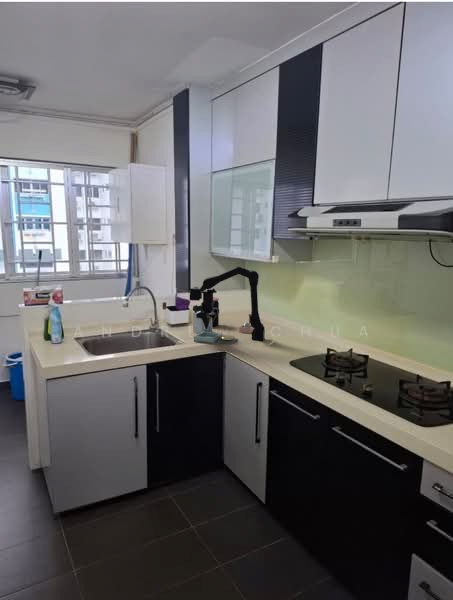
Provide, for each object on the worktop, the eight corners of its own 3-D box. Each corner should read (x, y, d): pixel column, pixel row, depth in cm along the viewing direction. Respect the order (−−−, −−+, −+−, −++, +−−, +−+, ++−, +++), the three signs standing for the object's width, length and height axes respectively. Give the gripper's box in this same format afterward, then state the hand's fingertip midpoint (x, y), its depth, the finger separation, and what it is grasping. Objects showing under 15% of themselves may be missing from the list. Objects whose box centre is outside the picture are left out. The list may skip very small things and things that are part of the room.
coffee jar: (218, 327, 256) (218, 299, 253) (201, 327, 256) (201, 299, 253) (218, 323, 267) (219, 297, 264) (202, 323, 267) (202, 297, 264)
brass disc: (236, 337, 226) (236, 335, 226) (231, 341, 218) (231, 339, 218) (223, 335, 229) (223, 334, 229) (217, 339, 222) (217, 337, 221)
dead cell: (250, 331, 245) (251, 322, 244) (248, 332, 241) (248, 323, 240) (244, 330, 246) (244, 321, 245) (242, 332, 243) (242, 323, 242)
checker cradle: (237, 340, 227) (237, 337, 226) (231, 344, 218) (231, 341, 218) (223, 338, 230) (223, 335, 230) (216, 342, 222) (216, 339, 221)
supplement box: (201, 334, 239) (201, 313, 237) (192, 332, 244) (192, 312, 242) (209, 331, 245) (209, 311, 243) (200, 330, 249) (200, 310, 247)
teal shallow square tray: (221, 338, 230) (221, 333, 229) (213, 343, 219) (213, 338, 218) (203, 336, 234) (203, 331, 234) (193, 341, 223) (193, 336, 223)
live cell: (213, 330, 227) (213, 315, 225) (210, 332, 223) (210, 317, 221) (206, 330, 228) (206, 315, 227) (203, 331, 224) (202, 316, 223)
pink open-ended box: (254, 331, 246) (254, 325, 245) (250, 334, 239) (250, 328, 239) (243, 330, 248) (243, 324, 248) (239, 333, 242) (239, 326, 241)
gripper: (202, 297, 234) (202, 323, 237) (187, 302, 217) (187, 330, 220) (219, 298, 230) (219, 324, 233) (206, 303, 213) (206, 332, 215)
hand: (208, 327), depth 225 cm, fingers closed on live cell, 4 cm apart
